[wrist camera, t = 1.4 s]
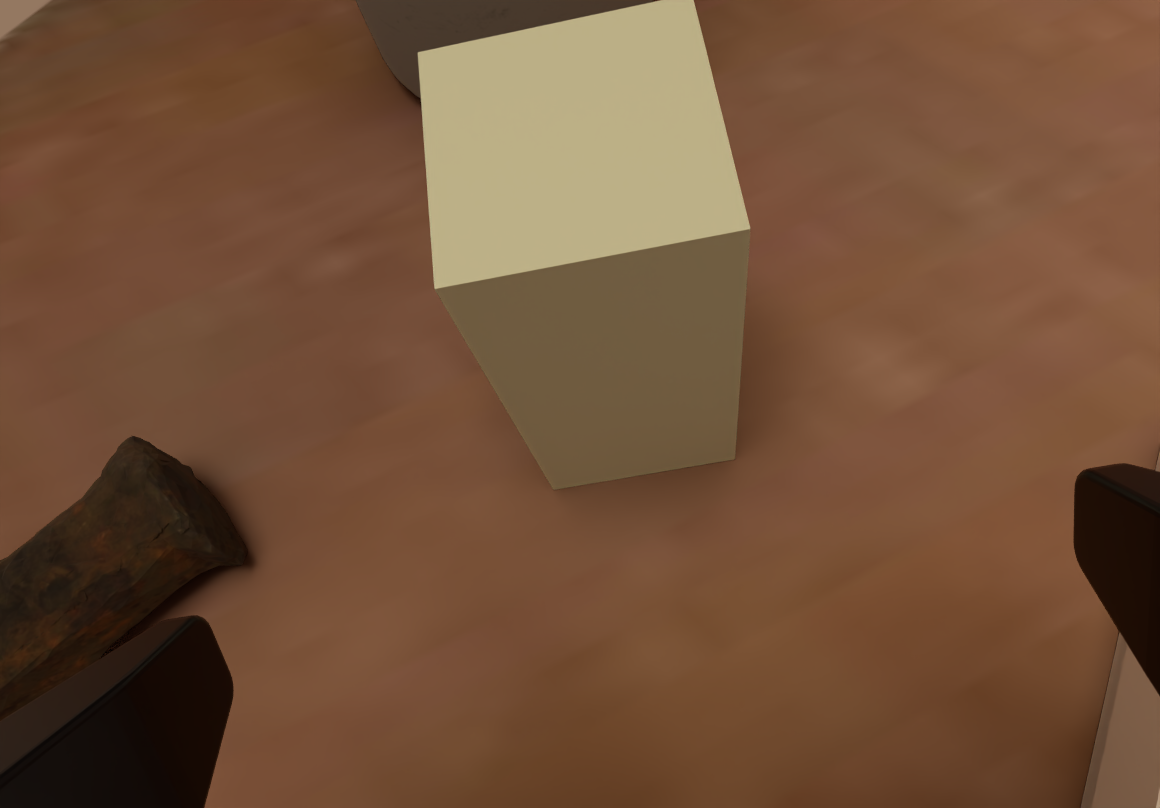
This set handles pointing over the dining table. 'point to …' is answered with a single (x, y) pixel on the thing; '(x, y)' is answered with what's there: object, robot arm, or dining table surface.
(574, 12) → the water bottle
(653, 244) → the pale green tall block
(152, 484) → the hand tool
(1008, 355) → the dining table surface
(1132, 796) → the box
